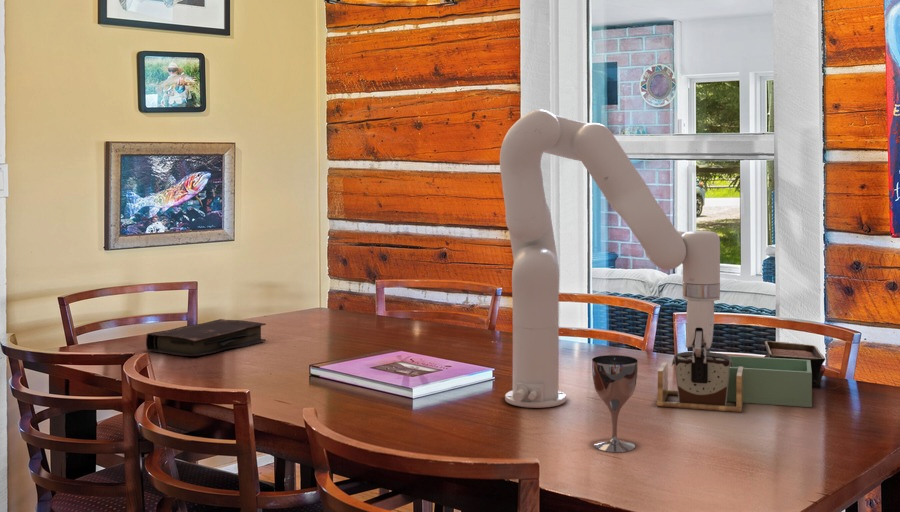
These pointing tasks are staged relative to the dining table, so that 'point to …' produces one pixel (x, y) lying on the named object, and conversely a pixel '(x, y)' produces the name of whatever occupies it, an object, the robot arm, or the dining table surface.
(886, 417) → the dining table surface
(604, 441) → the wine glass
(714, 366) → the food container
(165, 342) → the diary
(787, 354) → the dark brown tapered box
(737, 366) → the tub
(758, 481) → the dining table surface
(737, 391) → the drying rack
